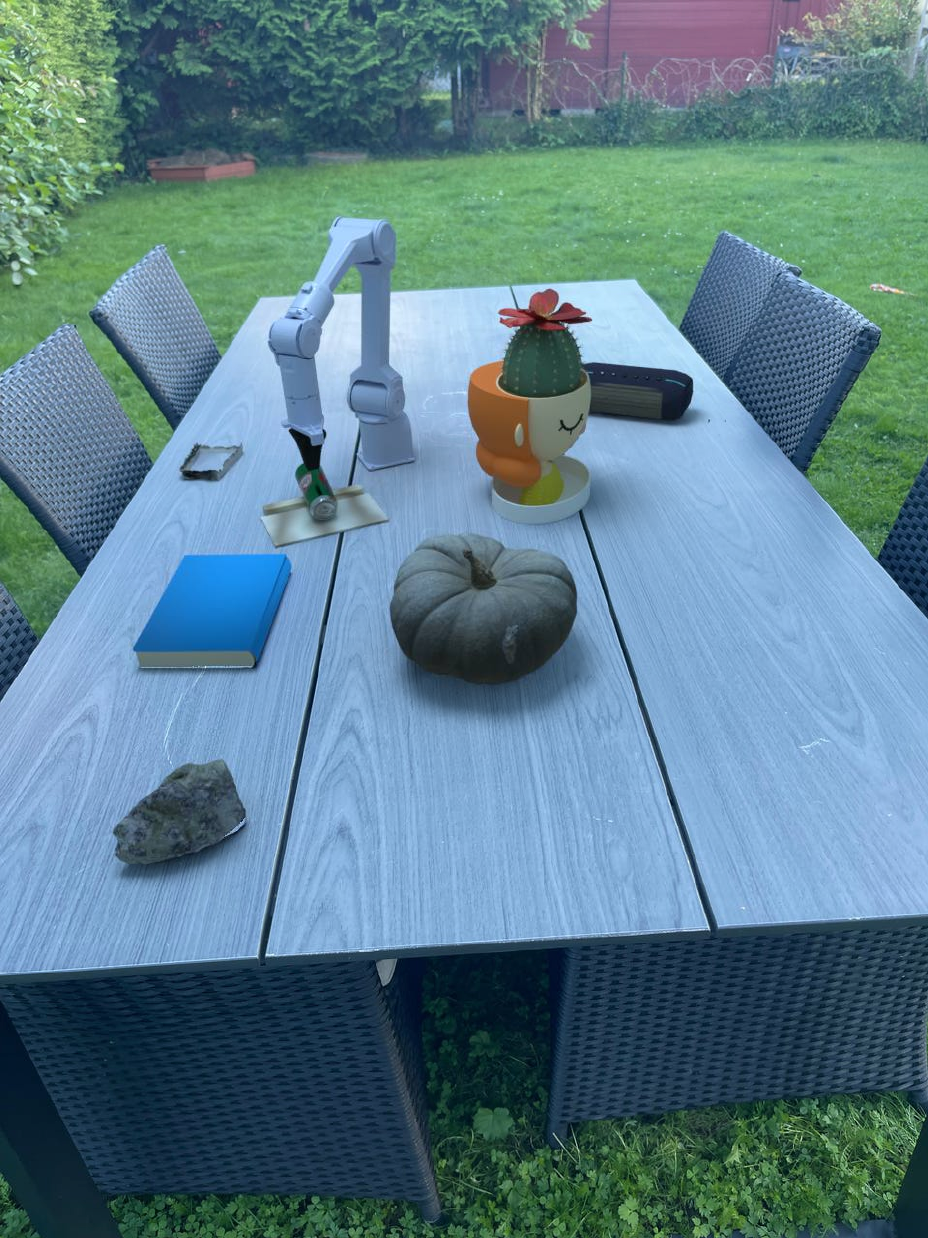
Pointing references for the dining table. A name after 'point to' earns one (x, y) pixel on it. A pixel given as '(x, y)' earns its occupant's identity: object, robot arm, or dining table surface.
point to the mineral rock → (181, 815)
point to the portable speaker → (639, 390)
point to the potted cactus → (534, 415)
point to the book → (214, 611)
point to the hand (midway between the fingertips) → (312, 468)
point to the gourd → (481, 608)
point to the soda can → (316, 492)
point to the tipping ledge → (297, 523)
